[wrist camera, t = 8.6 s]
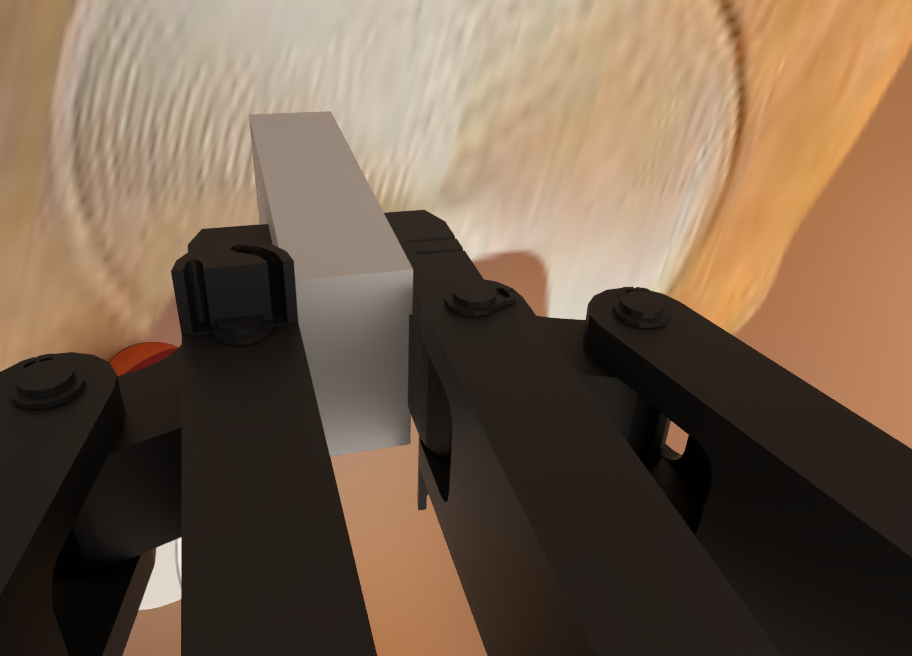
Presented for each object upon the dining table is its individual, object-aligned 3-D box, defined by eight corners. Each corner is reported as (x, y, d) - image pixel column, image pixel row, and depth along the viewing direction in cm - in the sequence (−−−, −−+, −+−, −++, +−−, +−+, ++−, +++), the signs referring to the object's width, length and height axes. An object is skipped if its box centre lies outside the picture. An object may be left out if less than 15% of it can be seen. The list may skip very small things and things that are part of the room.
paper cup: (96, 313, 43) (60, 485, 31) (236, 339, 46) (249, 504, 35) (71, 424, 46) (29, 618, 34) (204, 442, 49) (206, 624, 38)
